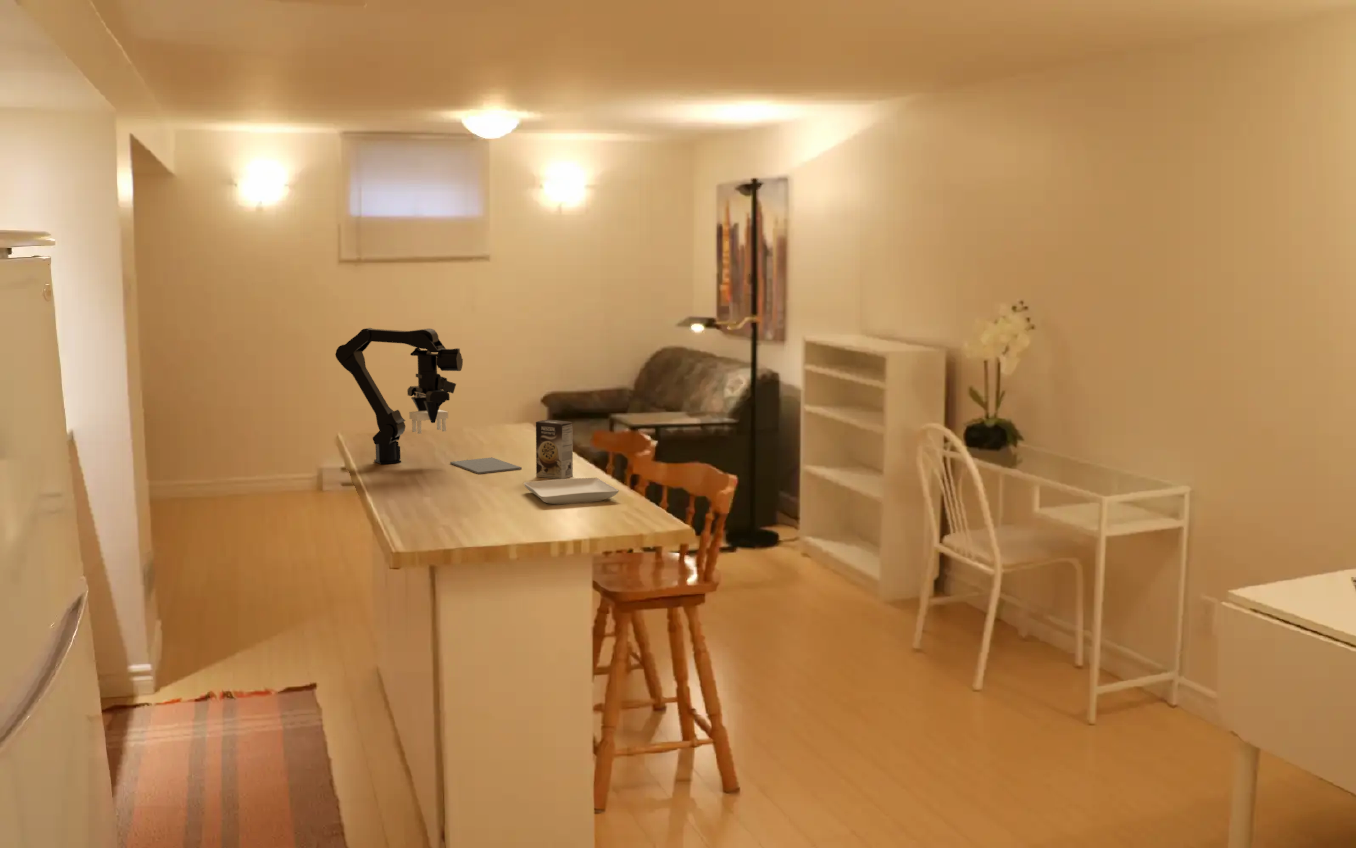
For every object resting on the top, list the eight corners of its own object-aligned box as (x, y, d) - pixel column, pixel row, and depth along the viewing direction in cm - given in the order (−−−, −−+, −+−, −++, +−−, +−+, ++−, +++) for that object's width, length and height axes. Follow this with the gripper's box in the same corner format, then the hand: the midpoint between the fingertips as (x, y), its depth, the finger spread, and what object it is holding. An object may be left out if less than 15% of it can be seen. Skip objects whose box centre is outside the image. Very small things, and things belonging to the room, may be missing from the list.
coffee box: (535, 476, 345) (534, 421, 343) (547, 473, 351) (547, 418, 349) (561, 479, 341) (561, 424, 339) (573, 476, 347) (573, 421, 345)
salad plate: (522, 493, 325) (522, 480, 324) (597, 487, 332) (597, 475, 332) (541, 509, 305) (541, 495, 305) (620, 503, 313) (620, 490, 312)
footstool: (417, 434, 359) (417, 414, 358) (409, 431, 364) (409, 411, 363) (448, 431, 364) (448, 411, 364) (440, 428, 369) (440, 409, 368)
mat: (478, 474, 349) (478, 472, 349) (450, 463, 365) (450, 461, 365) (521, 469, 357) (521, 467, 357) (492, 459, 373) (492, 457, 373)
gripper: (465, 371, 358) (466, 423, 361) (439, 366, 373) (441, 415, 376) (430, 373, 352) (431, 426, 354) (406, 368, 367) (407, 418, 370)
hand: (428, 421), depth 364 cm, fingers closed on footstool, 6 cm apart
